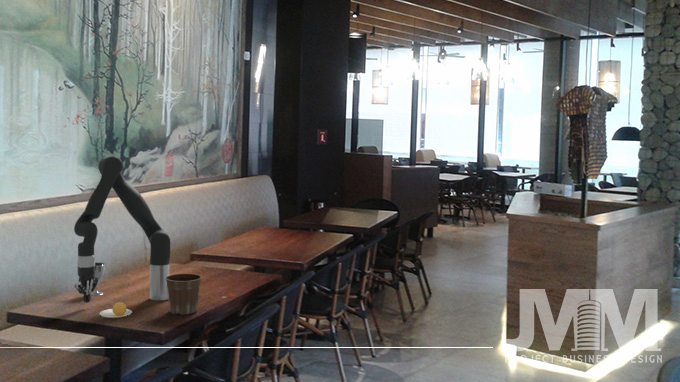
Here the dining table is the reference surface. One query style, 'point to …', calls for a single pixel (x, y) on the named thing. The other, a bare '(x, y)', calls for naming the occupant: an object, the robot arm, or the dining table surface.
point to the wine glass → (98, 276)
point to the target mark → (110, 313)
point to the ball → (119, 308)
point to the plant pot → (183, 293)
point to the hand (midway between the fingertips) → (86, 302)
